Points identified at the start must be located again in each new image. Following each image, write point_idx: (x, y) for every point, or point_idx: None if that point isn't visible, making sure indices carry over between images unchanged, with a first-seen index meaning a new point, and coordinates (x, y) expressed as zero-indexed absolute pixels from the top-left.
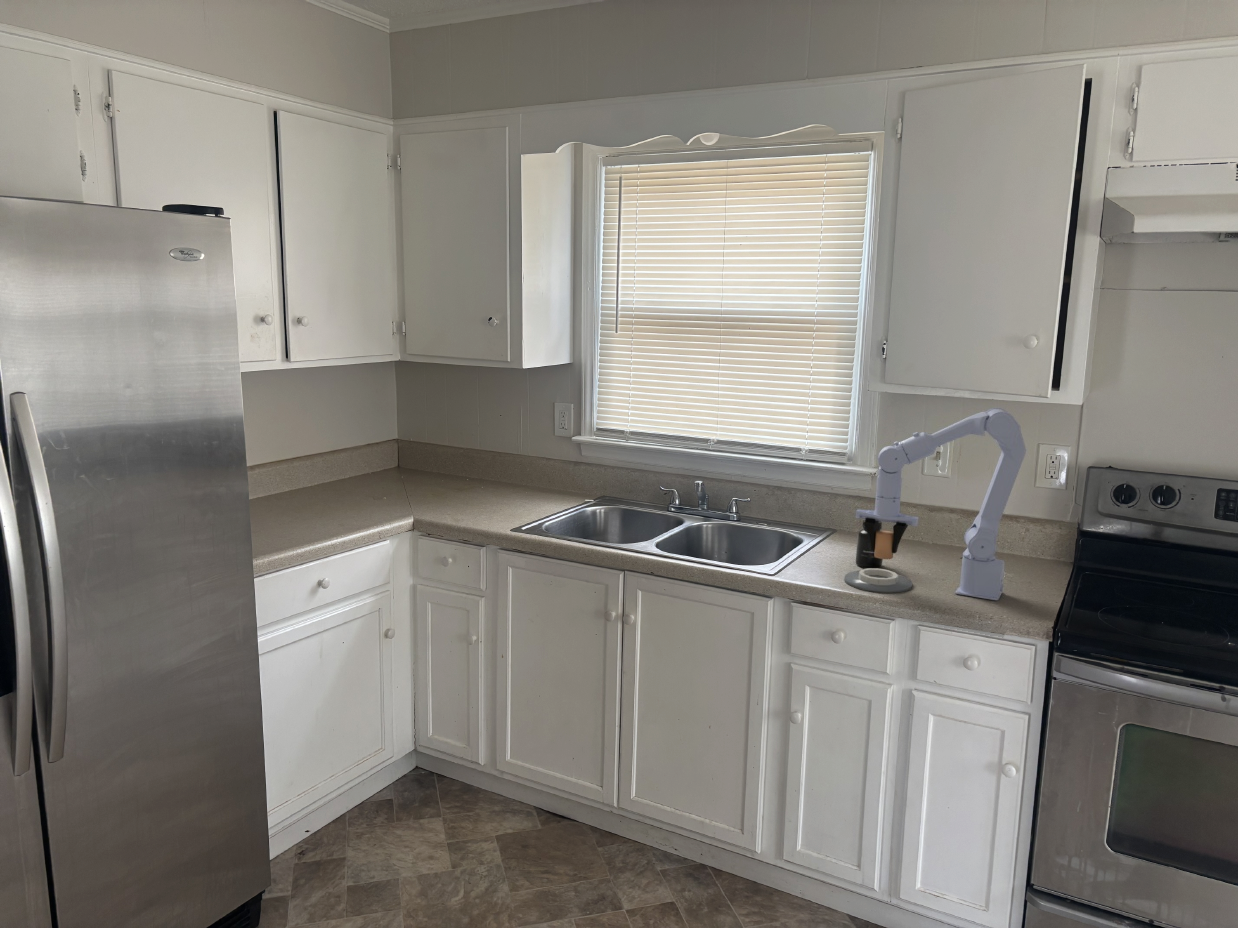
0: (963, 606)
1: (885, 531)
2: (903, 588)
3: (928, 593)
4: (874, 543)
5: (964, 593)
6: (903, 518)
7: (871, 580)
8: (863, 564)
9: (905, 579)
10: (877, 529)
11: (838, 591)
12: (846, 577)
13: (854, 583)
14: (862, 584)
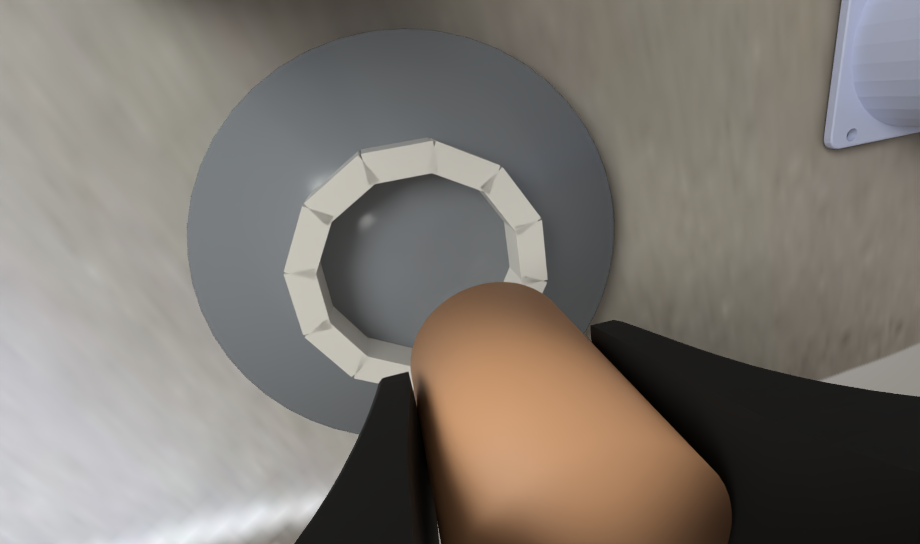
0: (853, 298)
1: (573, 505)
2: (596, 309)
3: (699, 233)
4: (431, 490)
5: (872, 141)
6: None
7: None
8: None
9: (552, 131)
10: (415, 524)
11: None
12: (250, 365)
13: (354, 422)
14: None
